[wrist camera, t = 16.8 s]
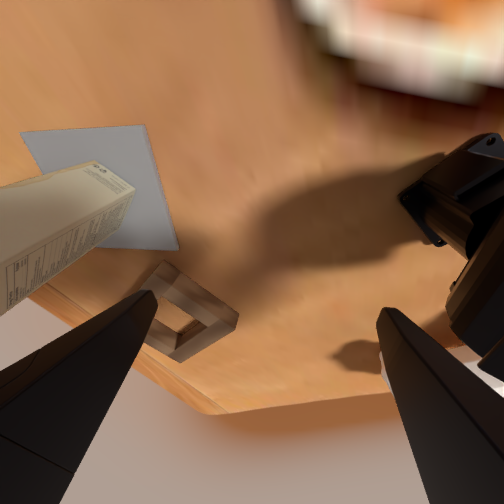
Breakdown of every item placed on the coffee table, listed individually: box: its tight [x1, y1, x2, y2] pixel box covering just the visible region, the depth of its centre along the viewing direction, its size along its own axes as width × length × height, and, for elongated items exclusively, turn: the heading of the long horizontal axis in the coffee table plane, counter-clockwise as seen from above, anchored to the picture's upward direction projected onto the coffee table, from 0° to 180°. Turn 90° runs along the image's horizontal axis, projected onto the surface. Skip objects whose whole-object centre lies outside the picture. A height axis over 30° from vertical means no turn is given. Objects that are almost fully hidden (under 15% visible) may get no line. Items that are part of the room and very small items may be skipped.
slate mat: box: [19, 125, 179, 251], centre depth 22 cm, size 12×12×1 cm
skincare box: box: [0, 160, 136, 316], centre depth 16 cm, size 6×4×12 cm
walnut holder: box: [137, 260, 239, 363], centre depth 30 cm, size 12×14×2 cm
